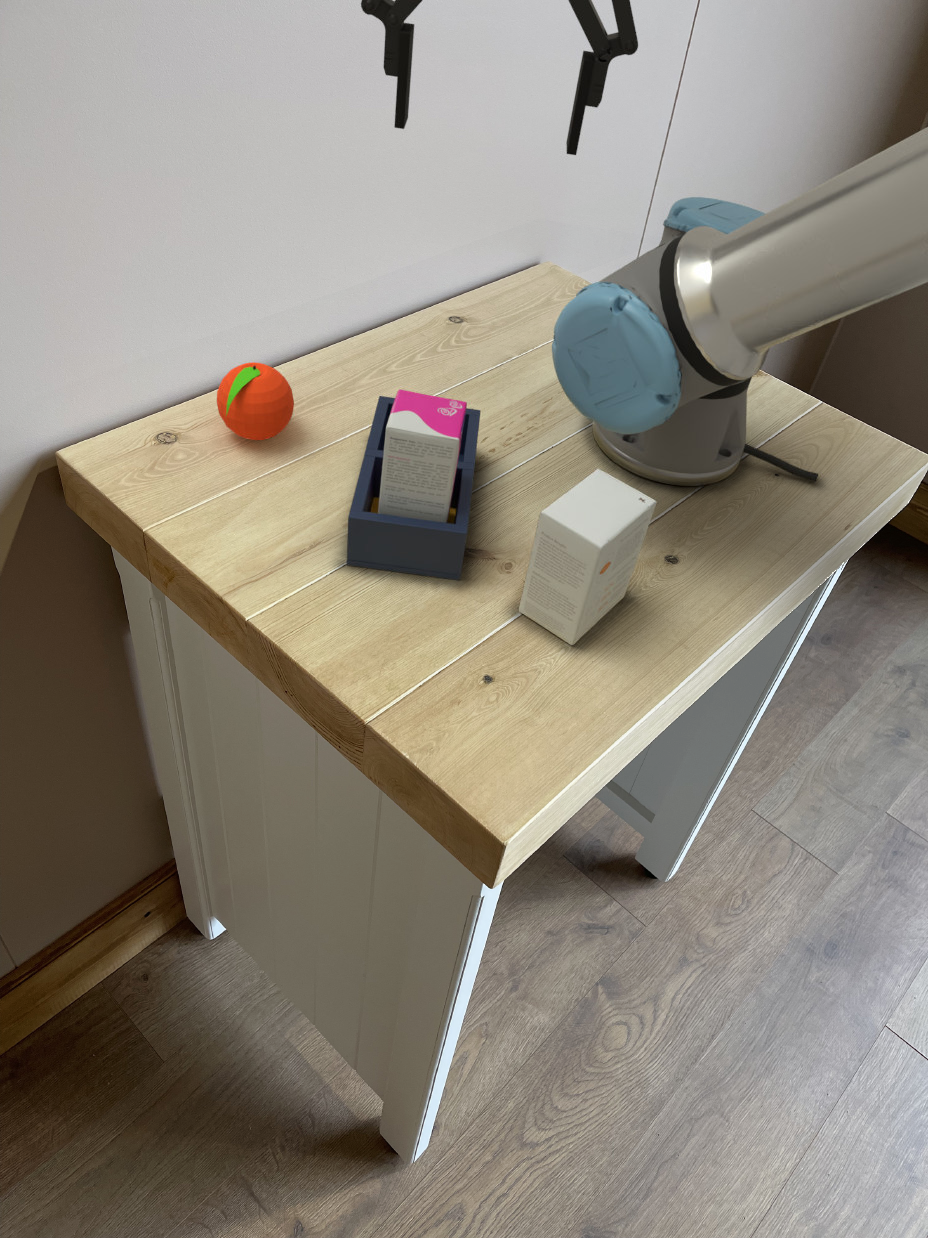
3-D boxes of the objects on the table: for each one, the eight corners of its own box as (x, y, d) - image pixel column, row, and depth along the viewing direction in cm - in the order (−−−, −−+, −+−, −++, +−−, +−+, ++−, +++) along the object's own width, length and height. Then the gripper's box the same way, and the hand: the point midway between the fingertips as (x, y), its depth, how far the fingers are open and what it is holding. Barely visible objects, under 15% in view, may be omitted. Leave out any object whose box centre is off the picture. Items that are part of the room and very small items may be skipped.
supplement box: (443, 555, 76) (459, 440, 68) (373, 543, 76) (380, 426, 68) (452, 512, 81) (468, 398, 72) (386, 500, 81) (394, 386, 72)
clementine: (262, 470, 83) (259, 401, 78) (197, 445, 84) (190, 376, 79) (308, 427, 88) (308, 361, 83) (246, 404, 90) (242, 338, 85)
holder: (376, 441, 88) (379, 395, 84) (473, 455, 88) (480, 409, 85) (346, 565, 75) (348, 517, 72) (459, 580, 76) (467, 533, 72)
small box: (571, 565, 79) (598, 465, 71) (625, 598, 77) (659, 499, 69) (515, 611, 74) (538, 509, 66) (571, 648, 72) (602, 547, 64)
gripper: (719, -198, 61) (638, 143, 76) (344, -261, 60) (337, 97, 75) (734, -188, 56) (644, 176, 71) (323, -257, 55) (321, 127, 70)
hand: (486, 136), depth 73 cm, fingers open, 13 cm apart
